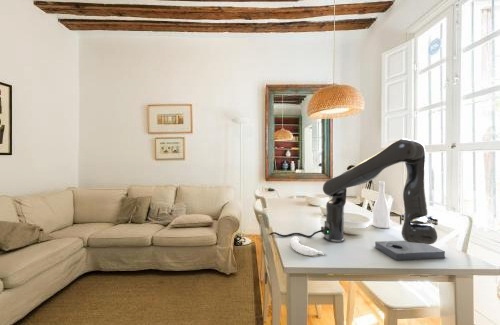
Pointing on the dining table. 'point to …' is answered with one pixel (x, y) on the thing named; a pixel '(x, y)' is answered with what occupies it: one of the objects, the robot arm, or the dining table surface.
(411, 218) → the robot arm
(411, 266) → the dining table surface
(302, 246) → the banana
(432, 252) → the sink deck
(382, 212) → the wine bottle
